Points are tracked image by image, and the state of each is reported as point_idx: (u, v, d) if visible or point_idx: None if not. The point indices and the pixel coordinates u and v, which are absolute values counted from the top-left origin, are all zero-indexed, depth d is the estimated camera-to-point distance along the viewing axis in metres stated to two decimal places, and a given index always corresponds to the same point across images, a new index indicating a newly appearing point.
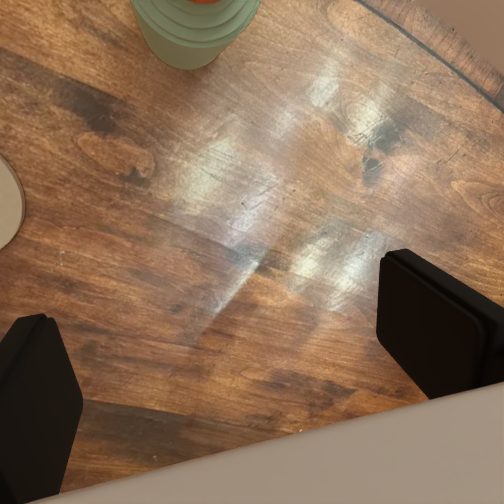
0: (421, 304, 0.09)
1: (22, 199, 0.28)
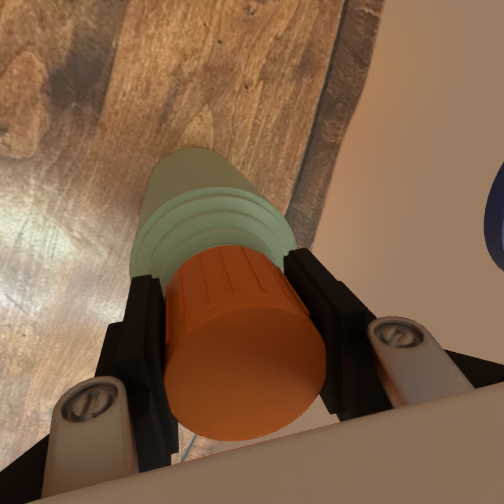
0: (304, 299, 0.10)
1: None
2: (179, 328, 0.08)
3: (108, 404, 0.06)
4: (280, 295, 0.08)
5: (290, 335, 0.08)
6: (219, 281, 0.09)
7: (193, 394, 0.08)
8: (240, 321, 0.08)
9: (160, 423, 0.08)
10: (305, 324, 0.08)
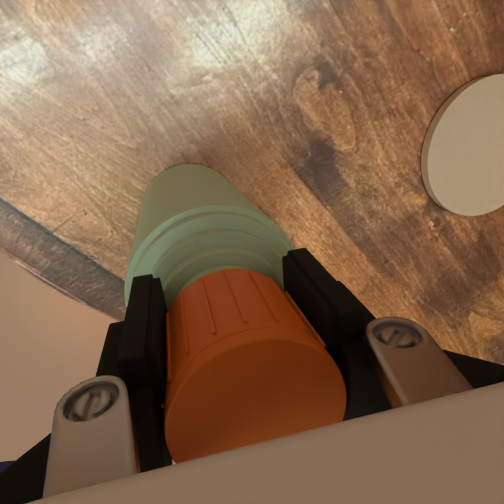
0: (303, 299, 0.10)
1: (440, 114, 0.25)
2: (183, 363, 0.07)
3: (110, 403, 0.06)
4: (294, 326, 0.08)
5: (306, 371, 0.07)
6: (226, 309, 0.08)
7: (198, 438, 0.07)
8: (252, 356, 0.07)
9: (161, 422, 0.08)
10: (323, 358, 0.07)
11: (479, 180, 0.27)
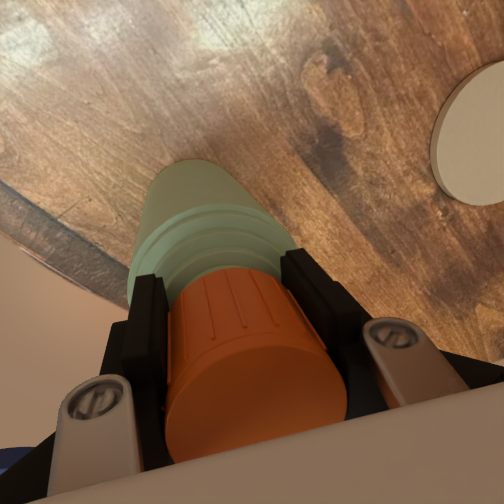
0: (301, 299, 0.10)
1: (450, 100, 0.24)
2: (182, 369, 0.07)
3: (114, 402, 0.06)
4: (294, 330, 0.08)
5: (306, 376, 0.07)
6: (226, 312, 0.08)
7: (198, 441, 0.07)
8: (251, 362, 0.07)
9: None
10: (323, 363, 0.07)
11: (489, 169, 0.27)
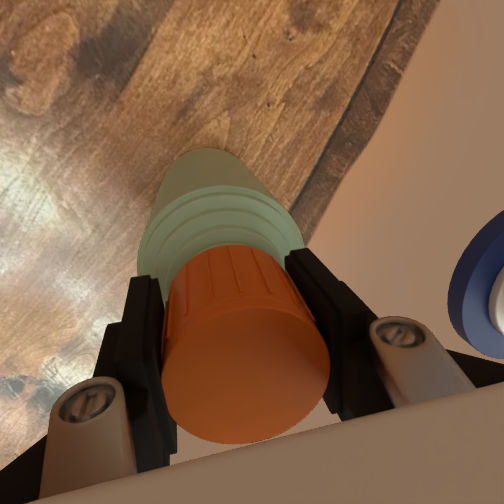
0: (306, 299, 0.10)
1: None
2: None
3: (106, 405, 0.06)
4: None
5: (185, 375, 0.08)
6: None
7: (279, 413, 0.09)
8: (190, 418, 0.08)
9: (158, 423, 0.08)
10: (166, 371, 0.08)
11: None
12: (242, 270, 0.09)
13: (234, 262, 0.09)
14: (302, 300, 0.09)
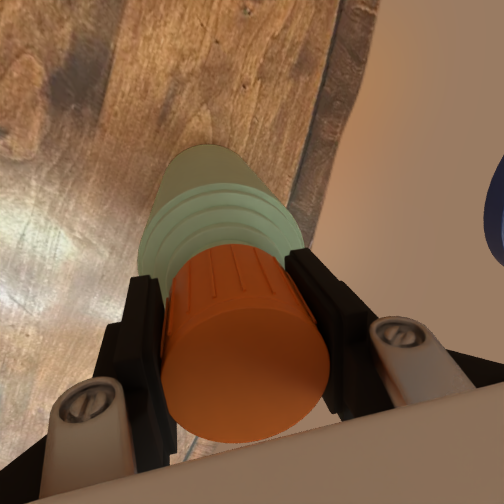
0: (306, 299, 0.10)
1: None
2: None
3: (106, 405, 0.06)
4: None
5: (261, 425, 0.09)
6: None
7: (275, 335, 0.08)
8: (306, 400, 0.09)
9: (158, 424, 0.08)
10: (261, 438, 0.09)
11: None
12: None
13: None
14: (170, 314, 0.09)
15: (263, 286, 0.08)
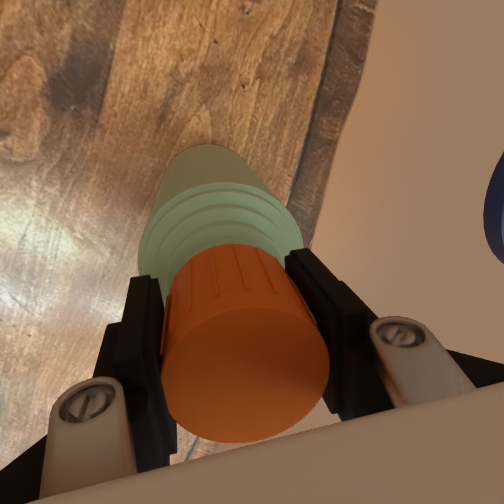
0: (306, 299, 0.10)
1: None
2: (185, 319, 0.08)
3: (106, 405, 0.06)
4: (291, 301, 0.08)
5: (296, 342, 0.08)
6: (231, 276, 0.09)
7: (189, 387, 0.08)
8: (249, 320, 0.08)
9: (158, 424, 0.08)
10: (313, 333, 0.08)
11: None
12: None
13: None
14: None
15: None
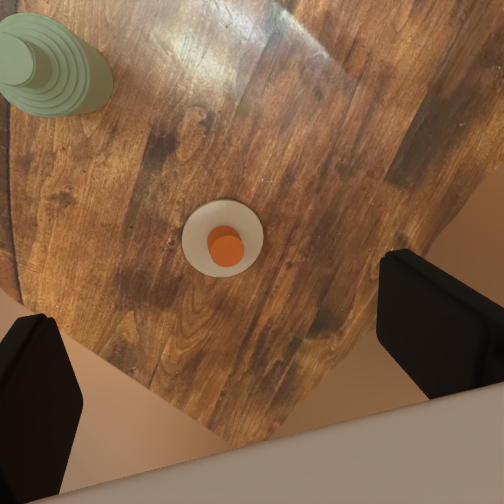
0: (421, 304, 0.09)
1: (224, 199, 0.43)
2: (214, 239, 0.41)
3: None
4: (235, 235, 0.41)
5: (236, 243, 0.41)
6: (223, 231, 0.41)
7: (216, 253, 0.41)
8: (226, 238, 0.40)
9: None
10: (239, 241, 0.41)
11: (206, 247, 0.44)
12: None
13: None
14: None
15: None
